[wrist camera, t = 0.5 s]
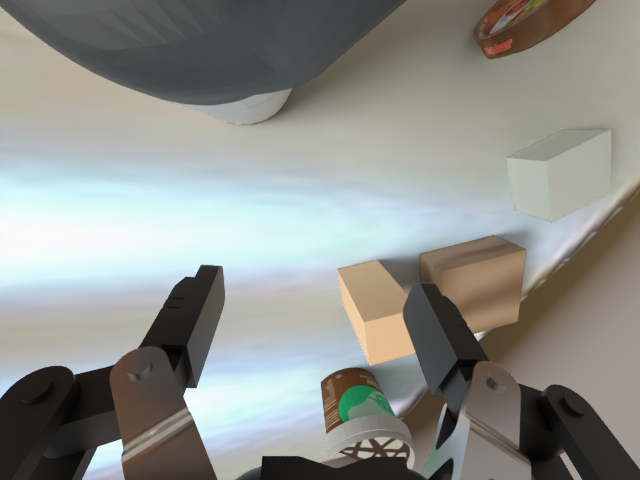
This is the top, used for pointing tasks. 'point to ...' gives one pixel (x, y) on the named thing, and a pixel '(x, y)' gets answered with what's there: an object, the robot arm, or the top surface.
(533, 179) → the grey block
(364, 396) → the food container
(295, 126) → the top surface
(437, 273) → the walnut block
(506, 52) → the tin
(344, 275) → the ochre pillar
